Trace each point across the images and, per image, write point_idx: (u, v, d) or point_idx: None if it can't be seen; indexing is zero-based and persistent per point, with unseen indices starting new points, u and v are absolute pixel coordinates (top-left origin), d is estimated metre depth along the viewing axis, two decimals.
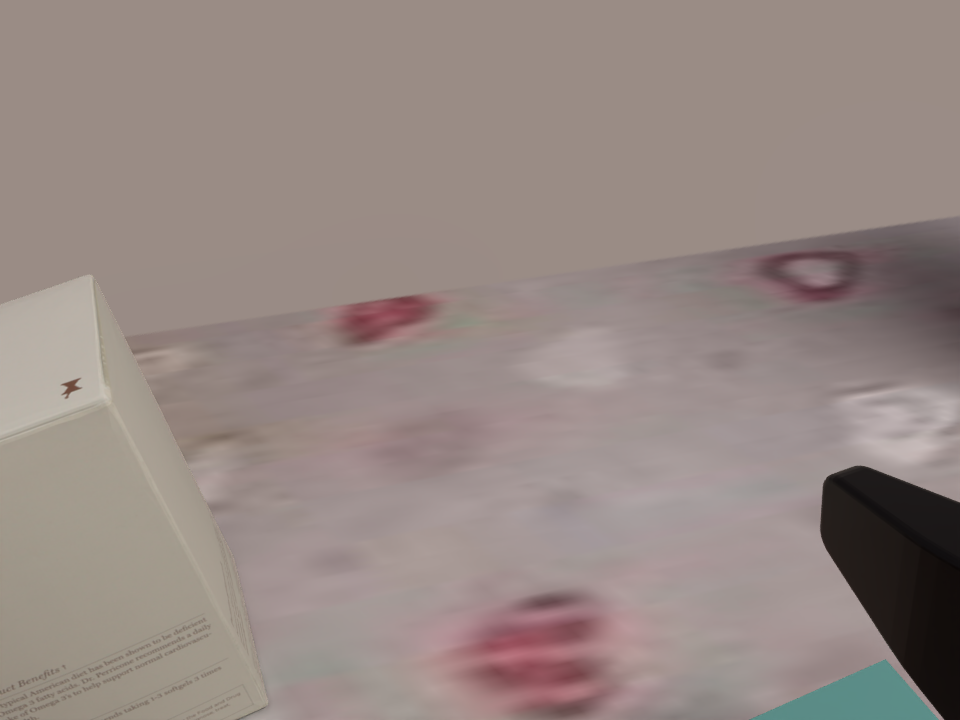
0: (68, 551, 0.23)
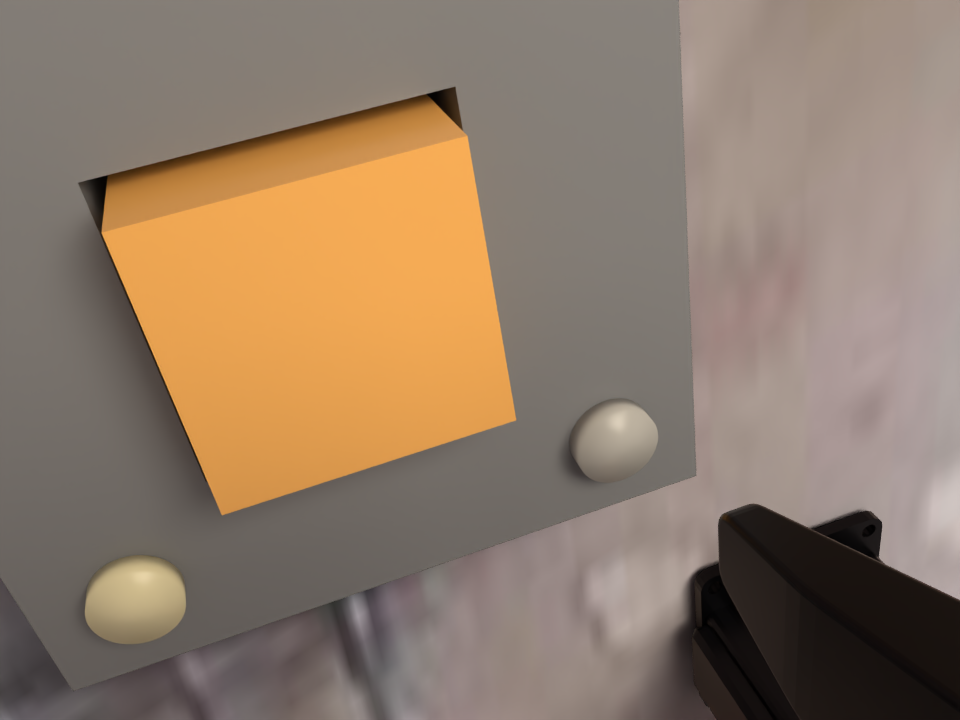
0: None
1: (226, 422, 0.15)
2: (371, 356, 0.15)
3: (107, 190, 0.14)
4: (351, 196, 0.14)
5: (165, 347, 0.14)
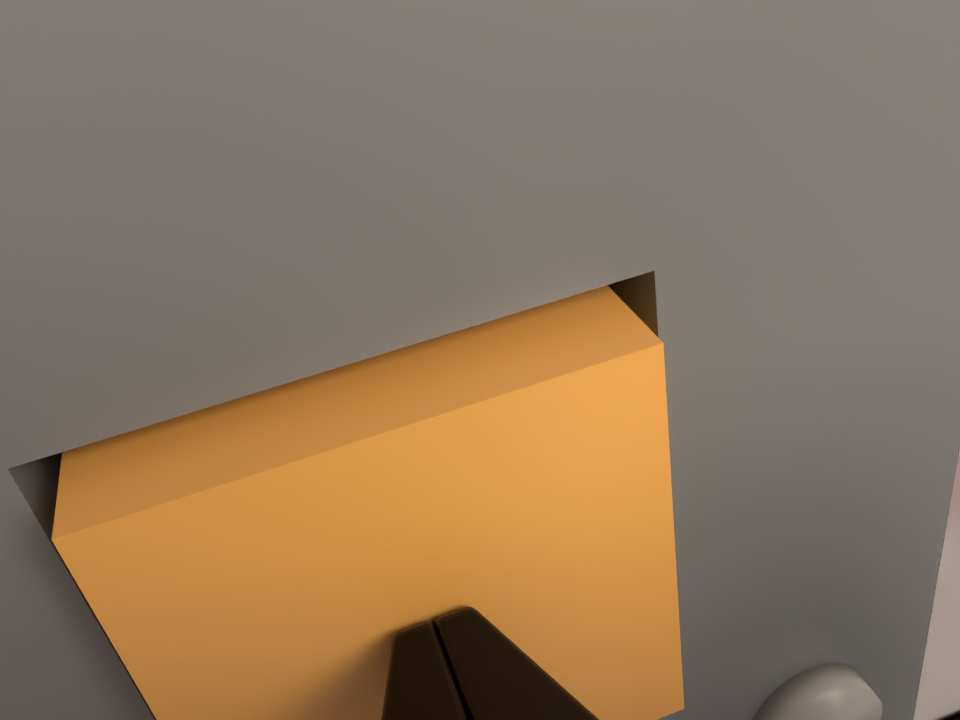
0: None
1: None
2: None
3: None
4: (472, 446, 0.08)
5: (163, 686, 0.08)
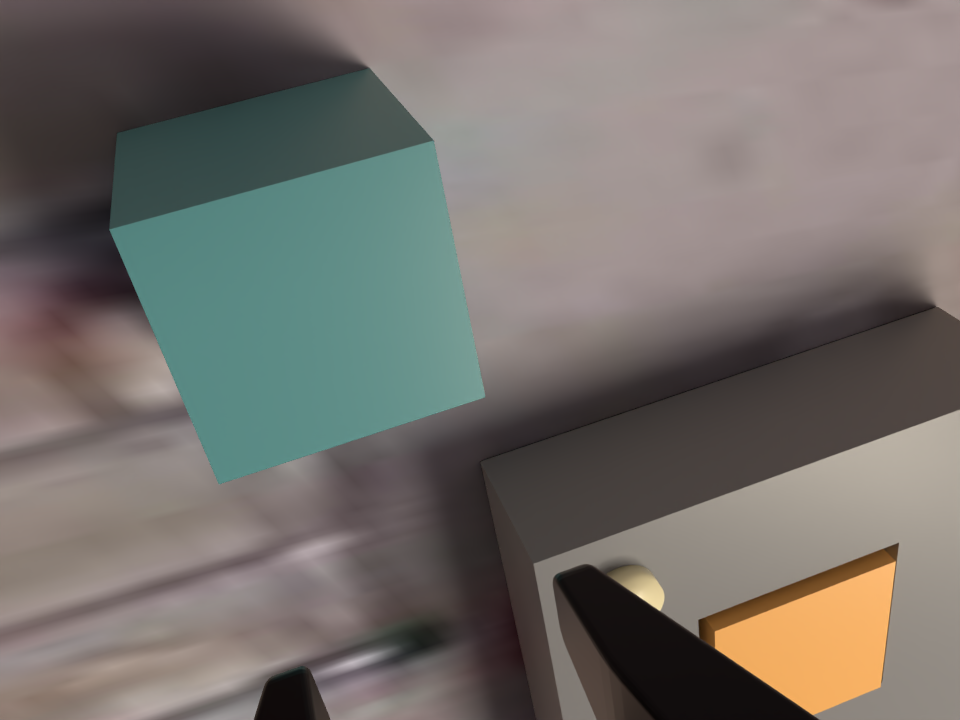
0: None
1: (775, 623, 0.24)
2: (786, 678, 0.26)
3: None
4: (872, 651, 0.26)
5: (830, 592, 0.24)
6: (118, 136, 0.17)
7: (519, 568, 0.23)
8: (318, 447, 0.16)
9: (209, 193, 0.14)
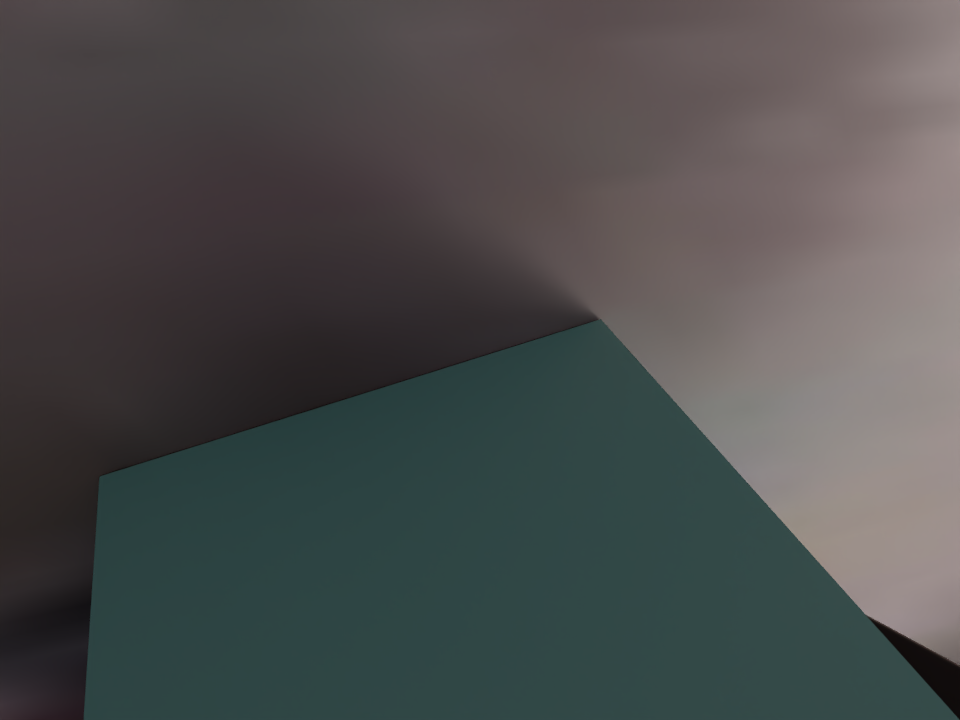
0: None
1: None
2: None
3: None
4: None
5: None
6: (101, 497, 0.08)
7: None
8: None
9: None
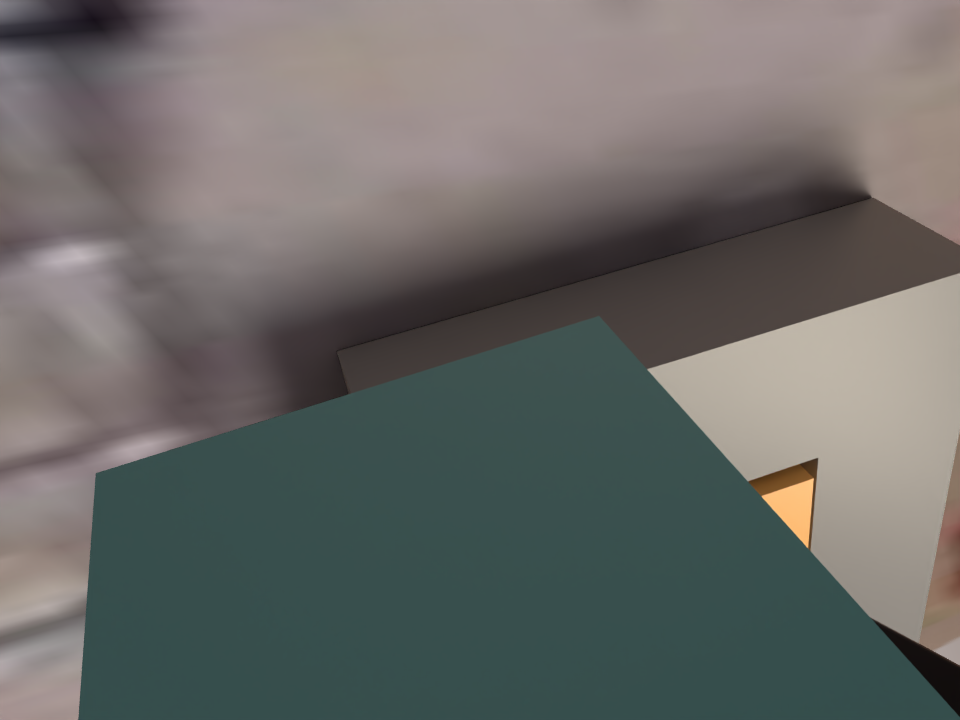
0: None
1: None
2: None
3: None
4: None
5: None
6: (98, 494, 0.08)
7: None
8: None
9: None
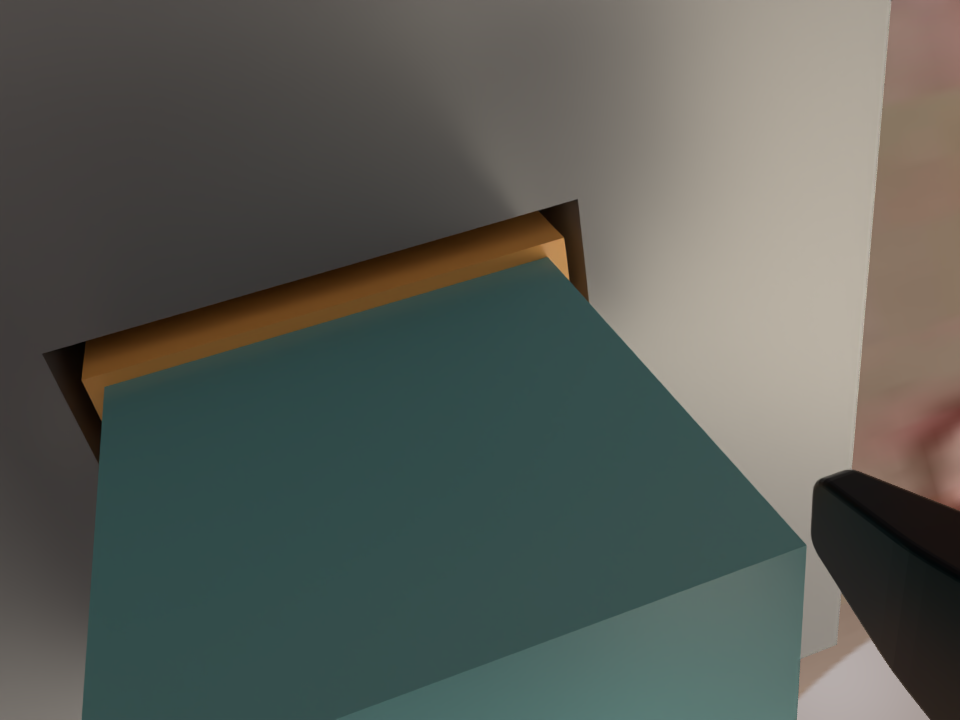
0: None
1: None
2: None
3: None
4: None
5: None
6: (106, 403, 0.09)
7: None
8: None
9: (309, 679, 0.06)
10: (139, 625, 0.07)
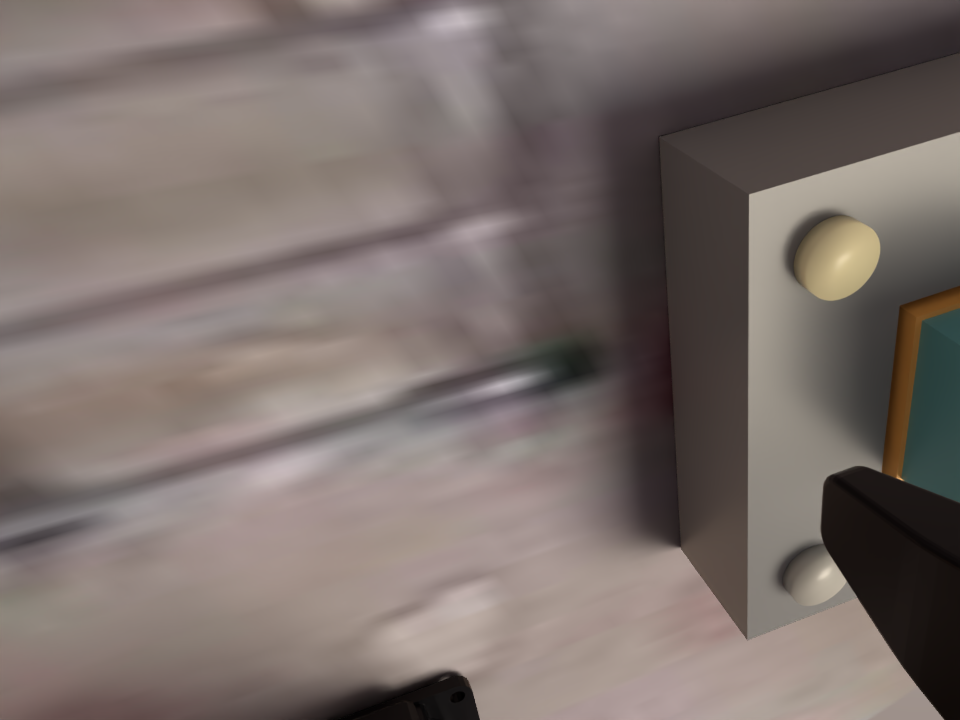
0: None
1: None
2: None
3: None
4: None
5: None
6: (933, 326, 0.21)
7: (708, 241, 0.21)
8: None
9: None
10: None
